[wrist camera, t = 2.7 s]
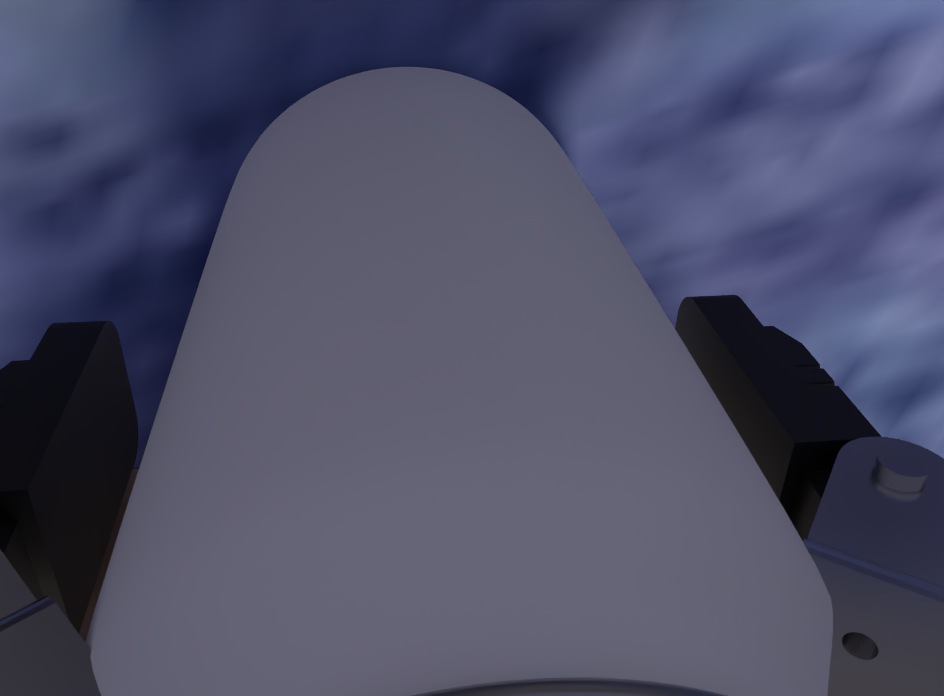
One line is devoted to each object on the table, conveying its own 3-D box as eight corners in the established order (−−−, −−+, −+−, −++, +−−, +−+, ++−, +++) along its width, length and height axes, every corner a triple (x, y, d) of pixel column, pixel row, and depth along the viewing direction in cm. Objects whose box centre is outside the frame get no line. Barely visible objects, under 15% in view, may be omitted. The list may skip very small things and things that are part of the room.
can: (175, 312, 16) (-114, 1131, 6) (314, -16, 14) (202, 482, 4) (477, 425, 19) (625, 1169, 8) (647, 161, 16) (1166, 783, 6)
